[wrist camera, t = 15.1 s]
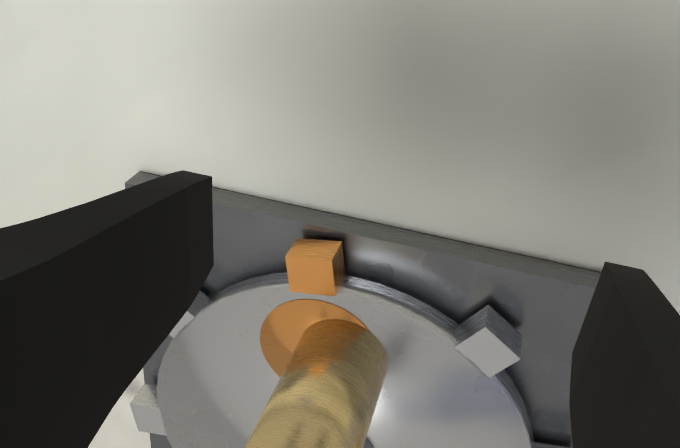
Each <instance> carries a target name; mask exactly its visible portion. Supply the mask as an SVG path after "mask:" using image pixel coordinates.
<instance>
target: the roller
mask: <svg viewBox="0 0 680 448" xmlns="http://www.w3.org/2000/svg"><path fill="white" fill-rule="evenodd" d="M387 369H388V357H387V354H386V351H385V349H384V347H383V345H382V344H381V342H380V341H379V340H378V339H377V338H376V337H375V335H373V334H372V333H371V332H370V331H369V330H367V329H365V328H364V327H362V326H360V325H358V324H356V323H353V322H350V321H347V320H341V319H326V320H321V321H318V322H316V323H313V324H312V325H310V326H309V327H308V328H307V329H306V330H305V331H304V332H303V334H302V336H301V338H300V340H299V342H298V344H297V346H296V348H295V350H294V352H293V354H292V356H291V358H290V360H289V361H288V363H287V365H286V367H285V369H284V371H283V373H282V375H281V377H280V379H279V381H278V383H277V385H276V387H275V389H274V391H273V393H272V395H271V397H270V399H269V401H268V403H267V405H266V407H265V408H264V410H263V412H262V414H261V416H260V418H259V420H258V422H257V424H256V426H255V428H254V430H253V432H252V434H251V436H250V438H249V440H248V442H247V444H246V446H245V448H363V446H364V443H365V440H366V437H367V433H368V430H369V427H370V424H371V421H372V417H373V414H374V411H375V408H376V405H377V402H378V398H379V395H380V392H381V389H382V386H383V383H384V379H385V376H386V373H387Z"/></svg>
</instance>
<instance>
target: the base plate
mask: <svg viewBox="0 0 680 448" xmlns="http://www.w3.org/2000/svg"><path fill="white" fill-rule="evenodd" d="M158 177H161V176H158V175H154V174H149V173H145V172H140V171H139V172H138V173H137V174H136V175H134V176H133V177H132V178H130V179H129V180H128V181H127V182H125V189H127V188H130V187H132V186H135V185H138V184H141V183H143V182H146V181H149V180H152V179H155V178H158ZM212 201H213V251H214V266H213V268H212V269H211V271H210V273H209V275H208V277H207V279H206V280H205V282H204V284H203V286H202V288H201V289H200V291H201V292H202V293H204V294H205V295H206V296H207V297H208V298H210V297H211V296H213V295H215V294H216V293H218V292H220V291H222V290H223V289H225V288H227V287H229V286H231V285H234V284H236V283H239V282H241V281H244V280H247V279H249V278H254V277H258V276H263V275H267V274H272V273H282V272H287V267H286V260H285V256H286V254H287V253H288V251H289V250H290V248H291V247H292V245H293V244H294V242H295V240H296V239H297V238H302V239H315V240H329V241H342V247H343V258H344V269H345V275H347V276H352V277H356V278H360V279H364V280H368V281H372V282H376V283H379V284H382V285H384V286H387V287H390V288H392V289H395V290H398V291H400V292H403V293H406V294H408V295H410V296H412V297H414V298H416V299H418V300H420V301H422V302H424V303H426V304H428V305H430V306H432V307H433V308H435V309H436V310H438V311H439V312H441V313H443V314H444V315H446V316H447V317H449V318H450V319H452V320H454V321H455V322H456V323H458V324H460V323H462V322H463V321H465V320H466V319H468V318H469V317H471V316H472V315H474V314H475V313H477V312H478V311H480V310H481V309H483V308H484V307H485V306H487V305H490V306H491V307H492V308H493V309H494V310H495V311H496V312H497V313H498V314H499V315H500V316H502V317H503V318H504V319H505V320H506V321H507V322H508V323H509V324H510V325H511V326H512V327H514V328H515V329H516V330H517V331H518V332H519V333H520V334H521V335H522V346H521V359H520V360H518V361H517V362H515V363H513V364H512V365H510V366H508V367H507V368H505V369H504V370H505V371H506V372H507V374H508V375H509V376H510V378H511V379H512V381H513V383H514V385H515V386H516V388H517V390H518V392H519V394H520V395H521V397H522V399H523V402H524V405H525V407H526V410H527V412H528V415H529V418H530V422H531V427H532V432H533V437H534V442H536V443H543V444H550V445H557V446H563V447H570V448H573V445H572V433H571V420H570V406H569V398H570V378H571V363H572V352H573V349H574V346H575V343H576V341H577V338H578V335H579V332H580V330H581V327H582V324H583V321H584V319H585V316H586V313H587V310H588V308H589V305H590V302H591V299H592V297H593V294H594V291H595V289H596V286H597V283H598V280H599V278H600V275H601V272H596V271H592V270H587V269H582V268H578V267H573V266H569V265H564V264H560V263H555V262H551V261H546V260H541V259H537V258H532V257H528V256H523V255H519V254H514V253H510V252H505V251H500V250H496V249H491V248H487V247H482V246H478V245H473V244H468V243H464V242H459V241H455V240H450V239H446V238H441V237H437V236H432V235H427V234H423V233H418V232H414V231H409V230H405V229H400V228H396V227H391V226H386V225H382V224H377V223H373V222H368V221H364V220H359V219H354V218H350V217H345V216H341V215H336V214H332V213H327V212H323V211H318V210H313V209H309V208H304V207H300V206H295V205H291V204H286V203H282V202H277V201H272V200H268V199H263V198H259V197H254V196H250V195H245V194H240V193H236V192H231V191H227V190H222V189H218V188H213V187H212ZM172 340H173V337H172V336H170V335H168V336H167V338H166V339H165V340H164V341H163V343H162V344H161V345H160V346H159V348H158V349H157V350H156V351H155V353H154V354H153V355H152V357H151V358H150V359H149V360H148V362H147V363H146V364H145V365H144V367H143V370H144V380H145V384H149V385H156V386H157V381H158V372H159V369H160V365H161V362H162V359H163V356H164V354H165V352H166V350H167V348H168V347H169V345H170V343H171V341H172ZM150 440H151V448H172V446H171V444H170V443H169V441H168V439H167V436H165V435H159V434H153V433H150Z"/></svg>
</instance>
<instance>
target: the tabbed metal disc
mask: <svg viewBox="0 0 680 448" xmlns="http://www.w3.org/2000/svg"><path fill="white" fill-rule="evenodd" d="M285 260H286V267H287V272H282V273H272V274H267V275H263V276H258V277H254V278H249V279H247V280H244V281H241V282H239V283H236V284H234V285H231V286H229V287H227V288H225V289H223V290H222V291H220V292H218V293H216V294H215V295H213V296H211V297H210V298H208V297H207V296H206V295H205V294H204V293H202V292H201V291H199V293H198V295H197V296H196V298H195V300H194V301H193V303H192V305H191V306H190V308H189V309H188V310H187V312H186V313H185V314H184V316H183V317H182V318H181V319H180V321H179V322H178V323H177V325H176V326H175V327H174V328H173V330H172V331H171V332H170V334H169V335H170V336H172V337H173V340H172V341H171V343H170V345H169V347H168V348H167V350H166V352H165V354H164V356H163V359H162V362H161V365H160V369H159V372H158V381H157V386H156V385H149V384H144V385H143V387H142V388H141V389H140V391H139V392H138V393H137V395H136V396H135V397H134V399H133V400H132V401H131V403H130V406H131V409H132V412H133V415H134V418H135V421H136V424H137V428H138V431H142V432H148V433H153V434H159V435H165V436H167V439H168V441H169V443H170V444H171V446H172V448H245V446H246V444H247V442H248V440H249V438H250V436H251V434H252V432H253V430H254V428H255V426H256V424H257V422H258V420H259V418H260V416H261V414H262V412H263V410H264V408H265V407H266V405H267V403H268V401H269V399H270V397H271V395H272V393H273V391H274V389H275V387H276V385H277V383H278V381H279V379H280V377H281V375H282V373H283V371H284V369H285V367H286V365H287V363H288V361H289V360H290V358H291V356H292V354H293V352H294V350H295V348H296V346H297V344H298V342H299V340H300V338H301V336H302V334H303V332H304V331H305V330H306V329H307V328H308V327H309V326H310V325H312V324H313V323H316V322H318V321H321V320H326V319H341V320H347V321H350V322H353V323H356V324H358V325H360V326H362V327H364V328H365V329H367V330H369V331H370V332H371V333H372V334H373V335H375V337H376V338H377V339H378V340H379V341H380V342H381V344H382V345H383V347H384V349H385V351H386V354H387V357H388V369H387V373H386V376H385V379H384V383H383V386H382V389H381V392H380V395H379V398H378V402H377V405H376V408H375V411H374V414H373V417H372V421H371V424H370V427H369V430H368V433H367V437H366V440H365V443H364V446H363V448H570V447H563V446H557V445H550V444H543V443H536V442H534V437H533V432H532V427H531V422H530V418H529V415H528V412H527V410H526V407H525V405H524V402H523V399H522V397H521V395H520V394H519V392H518V390H517V388H516V386H515V385H514V383H513V381H512V379H511V378H510V376H509V375H508V374H507V372H506V371H505V370H504V369H505V368H507V367H508V366H510V365H512V364H513V363H515V362H517V361H518V360H520V359H521V346H522V335H521V334H520V333H519V332H518V331H517V330H516V329H515V328H514V327H512V326H511V325H510V324H509V323H508V322H507V321H506V320H505V319H504V318H503V317H502V316H500V315H499V314H498V313H497V312H496V311H495V310H494V309H493V308H492V307H491V306H490V305H487V306H485V307H484V308H483V309H481V310H480V311H478V312H477V313H475V314H474V315H472V316H471V317H469V318H468V319H466V320H465V321H463V322H462V323H460V324H458V323H456V322H455V321H454V320H452V319H450V318H449V317H447V316H446V315H444V314H443V313H441V312H439V311H438V310H436V309H435V308H433V307H432V306H430V305H428V304H426V303H424V302H422V301H420V300H418V299H416V298H414V297H412V296H410V295H408V294H406V293H403V292H400V291H398V290H395V289H392V288H390V287H387V286H384V285H382V284H379V283H376V282H372V281H368V280H364V279H360V278H356V277H352V276H347V275H345V269H344V258H343V247H342V241H329V240H315V239H302V238H297V239H296V240H295V242H294V244H293V245H292V247H291V248H290V250H289V251H288V253H287V254H286V256H285Z"/></svg>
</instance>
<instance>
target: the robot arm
mask: <svg viewBox="0 0 680 448" xmlns="http://www.w3.org/2000/svg"><path fill="white" fill-rule="evenodd" d="M213 266H214V251H213V201H212V177H211V176H206V175H202V174H197V173H192V172H188V171H178V172H174V173H171V174H167V175H164V176H161V177H158V178H155V179H152V180H149V181H146V182H143V183H141V184H138V185H135V186H132V187H130V188H127V189H124V190H121V191H118V192H116V193H113V194H110V195H107V196H105V197H102V198H99V199H96V200H93V201H91V202H88V203H85V204H82V205H78V206H75V207H72V208H69V209H66V210H63V211H60V212H57V213H54V214H50V215H47V216H44V217H41V218H38V219H34V220H31V221H27V222H24V223H20V224H16V225H12V226H9V227H4V228H0V448H88V446H89V444H90V443H91V441H92V440H93V438H94V436H95V435H96V433H97V432H98V430H99V428H100V427H101V425H102V424H103V422H104V420H105V419H106V417H107V416H108V414H109V412H110V411H111V409H112V408H113V406H114V405H115V404H116V402H117V401H118V399H119V398H120V397H121V395H122V394H123V392H124V391H125V390H126V388H127V387H128V386H129V384H130V383H131V382H132V381H133V379H134V378H135V377H136V376H137V374H138V373H139V372H140V370H141V369H142V368H143V367H144V365H145V364H146V363H147V362H148V360H149V359H150V358H151V357H152V355H153V354H154V353H155V351H156V350H157V349H158V348H159V346H160V345H161V344H162V343H163V341H164V340H165V339H166V338H167V336H168V335H169V334H170V332H171V331H172V330H173V328H174V327H175V326H176V325H177V323H178V322H179V321H180V319H181V318H182V317H183V316H184V314H185V313H186V312H187V310H188V309H189V308H190V306H191V305H192V303H193V301H194V300H195V298H196V296H197V295H198V293H199V291H200V289H201V288H202V286H203V284H204V282H205V280H206V279H207V277H208V275H209V273H210V271H211V269H212V268H213ZM569 406H570V420H571V433H572V445H573V448H680V315H679V314H678V312H677V311H676V310H675V309H674V307H673V306H672V305H671V304H670V302H669V301H668V300H667V299H666V297H665V296H664V295H663V293H662V292H661V291H660V290H659V288H658V287H657V286H656V285H655V283H654V282H653V281H652V280H651V278H650V277H649V276H648V275H647V274H646V273H645V271H644V270H641V269H637V268H632V267H627V266H623V265H618V264H613V263H609V262H605V264H604V267H603V269H602V272H601V275H600V278H599V280H598V283H597V286H596V289H595V291H594V294H593V297H592V299H591V302H590V305H589V308H588V310H587V313H586V316H585V319H584V321H583V324H582V327H581V330H580V332H579V335H578V338H577V341H576V343H575V346H574V349H573V352H572V363H571V378H570V398H569Z"/></svg>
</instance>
